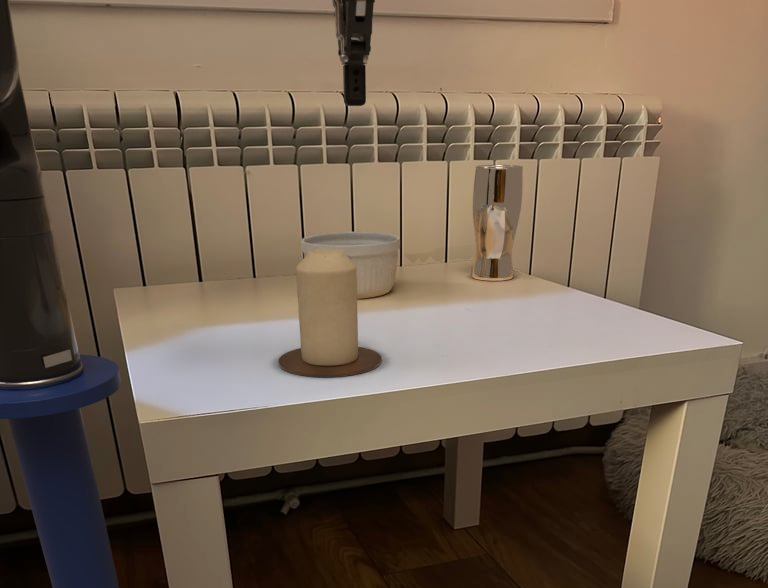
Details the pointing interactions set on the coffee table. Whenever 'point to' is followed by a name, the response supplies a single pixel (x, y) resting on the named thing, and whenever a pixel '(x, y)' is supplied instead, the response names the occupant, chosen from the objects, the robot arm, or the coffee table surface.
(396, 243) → the ramekin
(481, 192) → the beer glass
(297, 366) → the coaster
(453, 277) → the coffee table surface
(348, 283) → the candle
